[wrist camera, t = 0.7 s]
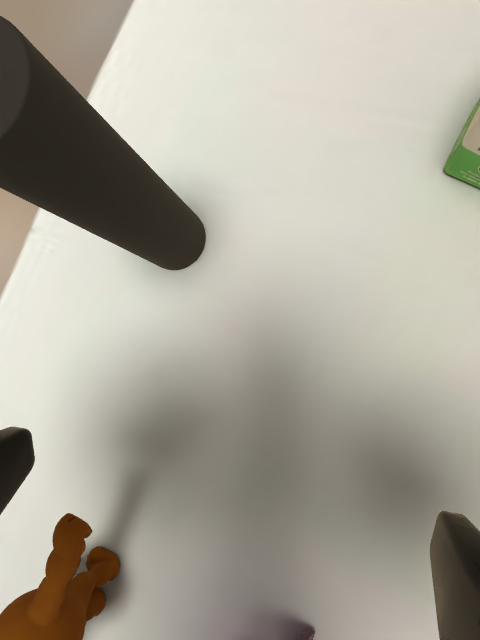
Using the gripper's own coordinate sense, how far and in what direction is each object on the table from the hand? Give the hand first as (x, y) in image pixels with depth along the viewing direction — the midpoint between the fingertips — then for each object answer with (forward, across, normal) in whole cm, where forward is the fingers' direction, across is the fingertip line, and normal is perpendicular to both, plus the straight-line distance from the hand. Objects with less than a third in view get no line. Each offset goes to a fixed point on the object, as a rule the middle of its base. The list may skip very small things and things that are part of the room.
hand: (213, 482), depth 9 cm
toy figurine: (+8, +9, +15) cm, 19 cm away
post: (+15, +7, -3) cm, 17 cm away
